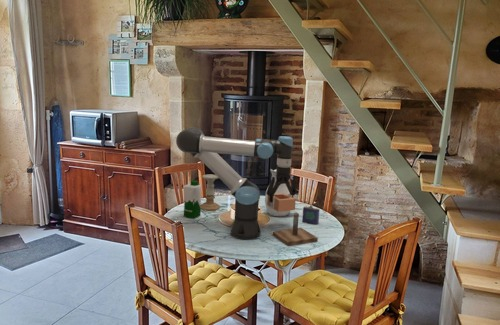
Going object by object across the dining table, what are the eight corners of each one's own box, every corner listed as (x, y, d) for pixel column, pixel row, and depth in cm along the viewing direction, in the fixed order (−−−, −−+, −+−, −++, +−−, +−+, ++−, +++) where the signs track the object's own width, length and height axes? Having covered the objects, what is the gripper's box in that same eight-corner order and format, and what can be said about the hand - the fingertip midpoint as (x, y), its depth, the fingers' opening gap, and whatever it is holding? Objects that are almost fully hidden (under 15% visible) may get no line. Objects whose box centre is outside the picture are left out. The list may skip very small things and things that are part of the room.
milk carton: (202, 215, 217) (203, 181, 213) (194, 219, 208) (195, 184, 205) (189, 212, 220) (190, 179, 216) (181, 217, 212) (181, 182, 208)
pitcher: (286, 219, 215) (289, 172, 210) (259, 214, 222) (262, 168, 217) (299, 209, 236) (302, 166, 231) (274, 205, 243) (277, 163, 238)
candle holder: (195, 208, 229) (196, 176, 226) (208, 203, 239) (208, 173, 236) (211, 212, 223) (212, 179, 219) (223, 207, 233) (224, 175, 230)
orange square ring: (278, 211, 192) (279, 200, 191) (267, 205, 203) (267, 194, 202) (294, 210, 197) (295, 199, 196) (283, 203, 207) (283, 193, 206)
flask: (318, 223, 211) (320, 205, 209) (317, 225, 208) (319, 206, 206) (302, 221, 214) (303, 203, 212) (301, 222, 211) (302, 204, 210)
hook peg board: (287, 246, 177) (289, 218, 174) (272, 235, 190) (273, 209, 188) (317, 241, 184) (319, 215, 182) (300, 231, 197) (302, 206, 195)
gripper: (268, 168, 188) (265, 210, 192) (305, 166, 197) (302, 207, 201) (261, 165, 194) (258, 206, 198) (298, 164, 204) (295, 203, 208)
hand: (280, 207), depth 200 cm, fingers closed on orange square ring, 10 cm apart
